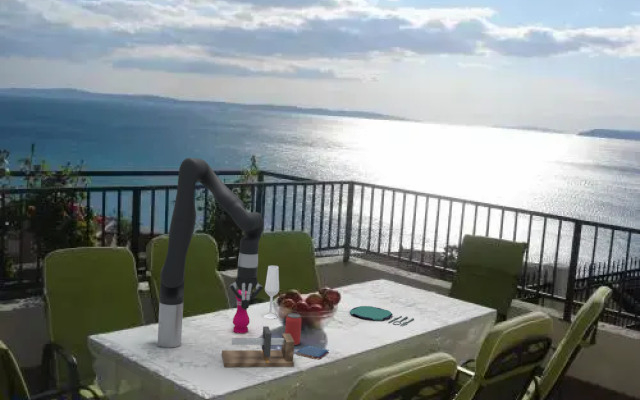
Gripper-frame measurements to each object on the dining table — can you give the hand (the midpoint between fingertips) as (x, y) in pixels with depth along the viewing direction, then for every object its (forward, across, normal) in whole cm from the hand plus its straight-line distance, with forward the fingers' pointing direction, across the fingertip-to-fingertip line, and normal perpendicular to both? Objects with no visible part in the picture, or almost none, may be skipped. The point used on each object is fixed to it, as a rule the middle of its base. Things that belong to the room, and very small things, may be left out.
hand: (244, 309), depth 261 cm
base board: (+19, -6, +3) cm, 20 cm away
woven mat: (+20, -29, -4) cm, 35 cm away
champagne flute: (+19, -18, -55) cm, 61 cm away
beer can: (+19, -23, -18) cm, 35 cm away
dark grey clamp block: (+16, -9, +3) cm, 19 cm away
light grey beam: (+13, -6, +3) cm, 14 cm away
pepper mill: (+20, -3, -33) cm, 39 cm away
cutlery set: (+19, -73, -56) cm, 94 cm away
